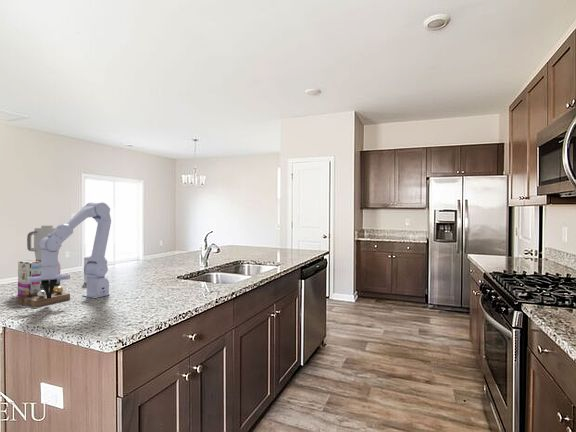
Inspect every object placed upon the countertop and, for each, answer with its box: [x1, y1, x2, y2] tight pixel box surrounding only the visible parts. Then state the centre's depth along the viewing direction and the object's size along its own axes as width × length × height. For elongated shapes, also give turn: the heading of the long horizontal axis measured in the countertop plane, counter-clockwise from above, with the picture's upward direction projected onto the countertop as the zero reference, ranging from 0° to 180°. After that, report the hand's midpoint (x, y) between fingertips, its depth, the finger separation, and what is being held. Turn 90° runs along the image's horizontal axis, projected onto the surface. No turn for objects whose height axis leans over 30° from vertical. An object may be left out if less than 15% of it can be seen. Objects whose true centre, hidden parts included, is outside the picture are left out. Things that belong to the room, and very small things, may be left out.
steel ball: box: [37, 289, 46, 298], centre depth 142 cm, size 3×3×3 cm
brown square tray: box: [16, 291, 71, 308], centre depth 146 cm, size 14×14×2 cm
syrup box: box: [83, 256, 90, 284], centre depth 187 cm, size 6×6×14 cm
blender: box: [26, 224, 61, 288], centre depth 176 cm, size 16×12×32 cm
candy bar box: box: [17, 259, 42, 297], centre depth 153 cm, size 11×5×16 cm, turn 62°
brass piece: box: [55, 286, 64, 294], centre depth 149 cm, size 3×3×3 cm
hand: (49, 297), depth 140 cm, fingers closed
